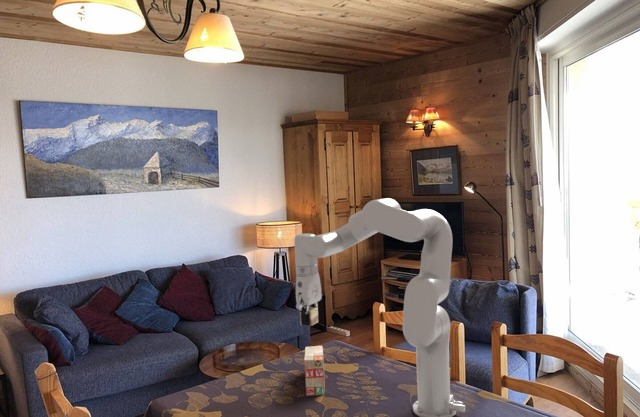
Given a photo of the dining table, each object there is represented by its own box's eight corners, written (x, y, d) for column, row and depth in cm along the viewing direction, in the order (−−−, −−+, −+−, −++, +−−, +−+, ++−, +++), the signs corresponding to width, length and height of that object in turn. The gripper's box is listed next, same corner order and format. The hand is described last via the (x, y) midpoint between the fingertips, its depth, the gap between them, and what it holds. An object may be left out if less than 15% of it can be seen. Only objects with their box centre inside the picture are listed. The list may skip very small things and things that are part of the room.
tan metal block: (318, 322, 173) (317, 307, 173) (311, 325, 170) (311, 311, 169) (307, 320, 176) (306, 306, 175) (300, 324, 172) (299, 310, 171)
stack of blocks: (307, 371, 186) (305, 338, 185) (324, 370, 186) (322, 337, 185) (306, 396, 164) (304, 359, 163) (325, 395, 164) (323, 358, 163)
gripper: (303, 275, 162) (306, 331, 163) (328, 266, 177) (331, 317, 178) (283, 274, 166) (286, 328, 167) (310, 265, 180) (312, 315, 182)
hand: (309, 322), depth 173 cm, fingers closed on tan metal block, 4 cm apart
